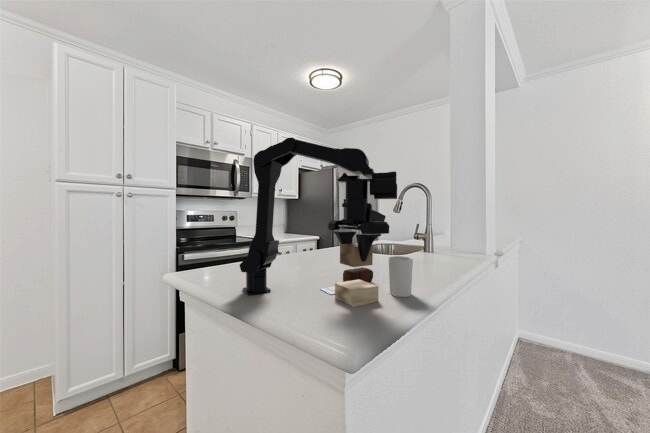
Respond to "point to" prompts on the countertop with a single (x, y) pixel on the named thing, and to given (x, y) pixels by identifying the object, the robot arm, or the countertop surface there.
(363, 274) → the brick
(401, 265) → the drinking glass
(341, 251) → the walnut block
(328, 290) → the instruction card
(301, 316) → the countertop surface
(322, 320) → the countertop surface
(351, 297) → the base block
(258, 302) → the countertop surface
